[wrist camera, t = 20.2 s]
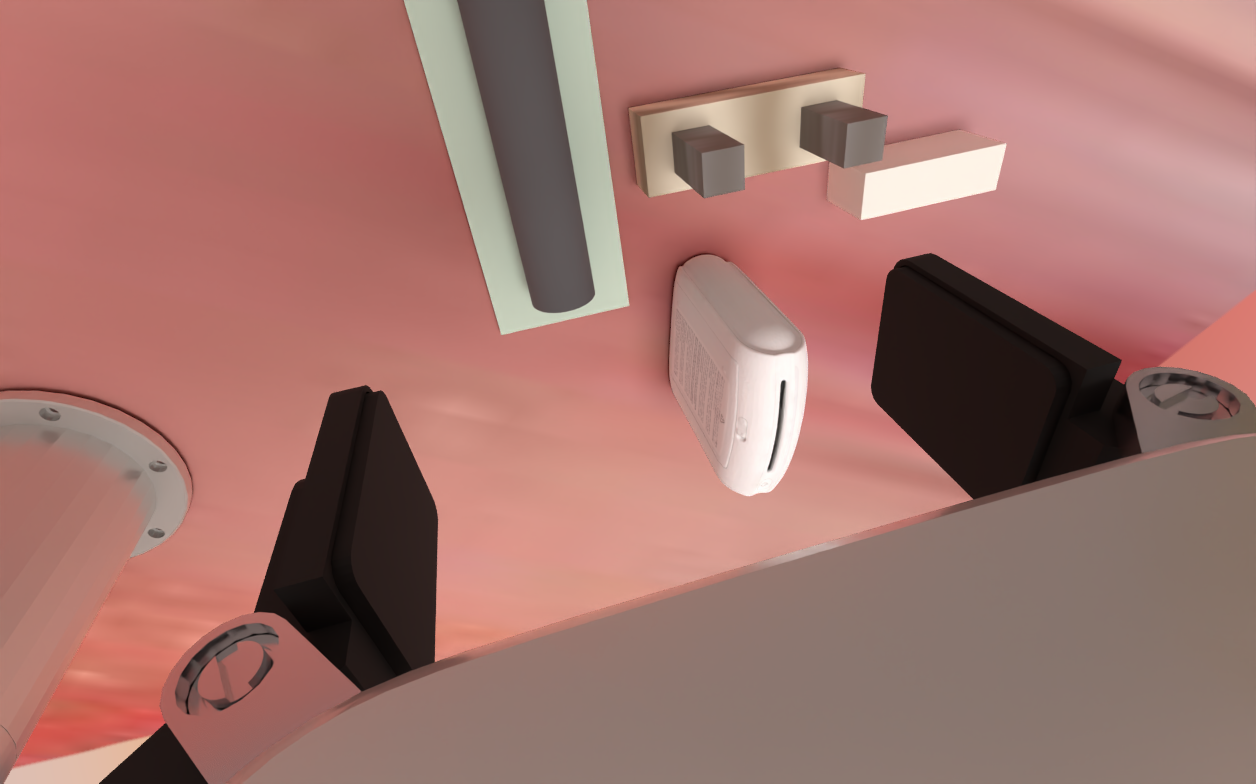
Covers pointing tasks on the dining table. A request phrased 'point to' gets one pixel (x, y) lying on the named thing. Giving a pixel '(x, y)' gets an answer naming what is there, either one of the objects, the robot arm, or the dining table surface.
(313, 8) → the dining table surface
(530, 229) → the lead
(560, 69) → the mat
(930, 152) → the beige rectangular block
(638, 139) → the clamp board
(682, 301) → the photo printer
